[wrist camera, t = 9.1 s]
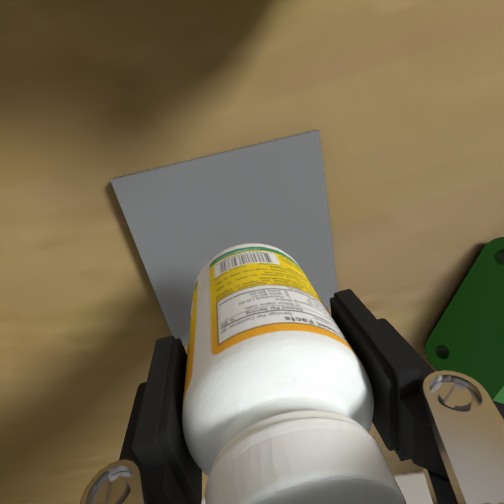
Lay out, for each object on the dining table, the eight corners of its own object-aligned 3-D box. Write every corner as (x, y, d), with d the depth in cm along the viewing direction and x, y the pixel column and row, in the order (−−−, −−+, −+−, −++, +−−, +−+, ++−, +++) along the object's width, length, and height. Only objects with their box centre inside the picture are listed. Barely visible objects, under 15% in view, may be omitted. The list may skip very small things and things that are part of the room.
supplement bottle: (241, 216, 13) (312, 398, 4) (326, 281, 15) (496, 502, 6) (168, 305, 14) (109, 591, 6) (255, 355, 16) (315, 630, 7)
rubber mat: (314, 130, 18) (319, 130, 17) (335, 299, 23) (339, 305, 22) (114, 178, 18) (110, 180, 17) (177, 340, 22) (176, 347, 22)
